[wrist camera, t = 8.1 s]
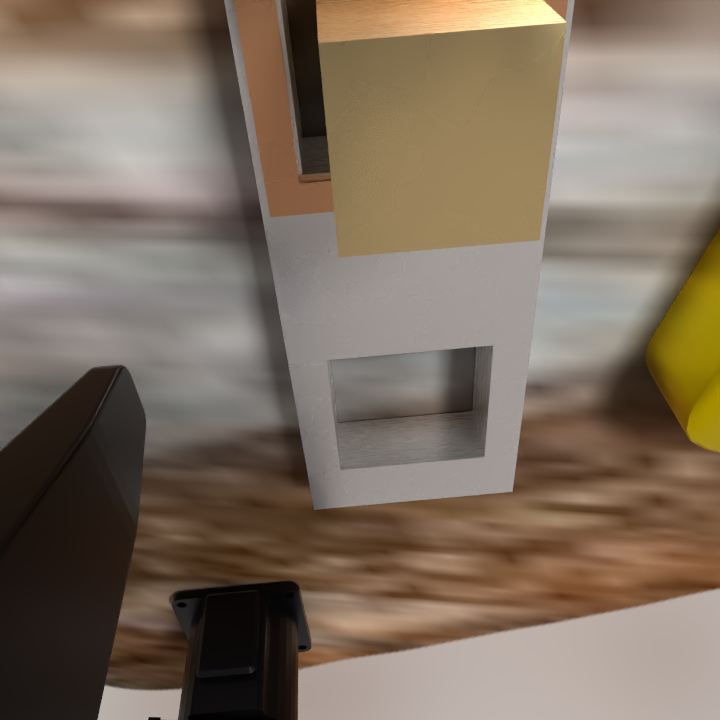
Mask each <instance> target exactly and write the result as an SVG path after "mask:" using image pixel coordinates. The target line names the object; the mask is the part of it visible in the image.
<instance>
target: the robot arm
mask: <svg viewBox="0 0 720 720" xmlns="http://www.w3.org/2000/svg"><path fill="white" fill-rule="evenodd" d="M145 432H146V418H145V412H144V409H143V406H142V403H141V401H140V398H139V395H138V393H137V390H136V387H135V385H134V382H133V379H132V377H131V374H130V372H129V371H128V369H127V368H126V367H125V366H123V365H111V366H100V367H94V368H92V369H90V370H89V371H88V372H87V373H86V374H84V375H83V376H82V377H81V378H80V379H79V380H78V381H77V382H76V383H74V384H73V385H72V386H71V387H70V388H69V389H68V390H67V391H66V392H65V393H63V394H62V395H61V396H60V397H59V398H58V399H57V400H56V401H55V402H54V403H52V404H51V405H50V406H49V407H48V408H47V409H46V410H45V411H44V412H43V413H41V414H40V415H39V416H38V417H37V418H36V419H35V420H34V421H33V422H31V423H30V424H29V425H28V426H27V427H26V428H25V429H24V430H23V431H22V432H20V433H19V434H18V435H17V436H16V437H15V438H14V439H13V440H12V441H11V442H9V443H8V444H7V445H6V446H5V447H4V448H3V449H2V450H1V451H0V720H97V719H98V714H99V709H100V704H101V700H102V694H103V690H104V686H105V681H106V676H107V671H108V667H109V662H110V657H111V652H112V648H113V643H114V638H115V633H116V629H117V624H118V619H119V614H120V610H121V605H122V600H123V595H124V591H125V586H126V581H127V576H128V572H129V567H130V562H131V557H132V553H133V548H134V542H135V537H136V531H137V524H138V515H139V503H140V492H141V480H142V468H143V456H144V444H145ZM172 607H173V609H174V611H175V613H176V615H177V618H178V620H179V622H180V624H181V626H182V628H183V630H184V633H185V635H186V637H187V639H188V641H189V642H188V650H187V657H186V665H185V672H184V680H183V687H182V694H181V702H180V710H179V717H178V720H298V652H305V651H308V650H310V649H311V637H310V633H309V628H308V624H307V619H306V615H305V610H304V606H303V602H302V597H301V593H300V588H299V586H298V585H297V584H295V583H281V584H270V585H259V586H248V587H237V588H226V589H215V590H204V591H193V592H182V593H177V594H175V595H174V596H173V600H172ZM148 720H160V718H158V717H149V719H148Z"/></svg>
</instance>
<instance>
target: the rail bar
mask: <svg viewBox="0 0 720 720" xmlns="http://www.w3.org/2000/svg"><path fill="white" fill-rule="evenodd" d="M543 1H544V2H545V3H546V4H547V5H548V6H550V7H551V8H552V9H553V10H554V11H555V12H556V13H557V14H558V15H559V16H561V17H562V18H563V19H564V20H565V21H566V22H567V27H566V35H565V43H564V51H563V59H562V67H561V74H560V82H559V90H558V98H557V106H556V114H555V122H554V130H553V138H552V146H551V154H550V162H549V170H548V178H547V185H546V193H545V201H544V209H543V217H542V225H541V233H540V240H538V241H526V242H514V243H503V244H491V245H479V246H468V247H456V248H444V249H433V250H421V251H409V252H397V253H386V254H374V255H362V256H351V257H338V246H337V236H336V225H335V215H334V204H333V194H332V183H331V172H330V162H329V151H328V141H327V135H325V136H314V137H303V136H302V127H301V119H300V111H299V103H298V95H297V87H296V79H295V71H294V63H293V54H292V46H291V38H290V30H289V22H288V14H287V6H286V0H224V3H225V8H226V14H227V20H228V25H229V31H230V37H231V42H232V48H233V54H234V59H235V65H236V71H237V76H238V82H239V88H240V93H241V99H242V105H243V110H244V116H245V122H246V127H247V133H248V139H249V144H250V150H251V156H252V161H253V167H254V173H255V178H256V184H257V190H258V195H259V201H260V207H261V212H262V218H263V224H264V229H265V235H266V240H267V246H268V252H269V257H270V263H271V269H272V274H273V280H274V286H275V291H276V297H277V303H278V308H279V314H280V320H281V325H282V331H283V337H284V342H285V348H286V354H287V359H288V365H289V371H290V376H291V382H292V388H293V393H294V399H295V405H296V410H297V416H298V422H299V427H300V433H301V439H302V444H303V450H304V456H305V461H306V467H307V473H308V478H309V484H310V490H311V495H312V501H313V507H314V510H316V509H327V508H338V507H349V506H360V505H371V504H382V503H393V502H404V501H415V500H426V499H437V498H448V497H459V496H470V495H481V494H492V493H503V492H512V491H513V484H514V476H515V468H516V460H517V452H518V444H519V436H520V428H521V420H522V412H523V404H524V396H525V388H526V381H527V373H528V365H529V357H530V349H531V341H532V333H533V325H534V317H535V309H536V301H537V293H538V285H539V277H540V270H541V262H542V254H543V246H544V238H545V230H546V222H547V214H548V206H549V198H550V190H551V182H552V174H553V166H554V159H555V151H556V143H557V135H558V127H559V119H560V111H561V103H562V95H563V87H564V79H565V71H566V63H567V55H568V48H569V40H570V32H571V24H572V16H573V8H574V0H543ZM469 347H476V354H475V371H474V389H473V406H472V411H466V412H455V413H444V414H433V415H421V416H410V417H399V418H388V419H377V420H366V421H355V422H344V423H338V420H337V411H336V403H335V395H334V387H333V379H332V371H331V363H330V360H336V359H347V358H358V357H369V356H381V355H392V354H403V353H414V352H425V351H436V350H447V349H458V348H469Z"/></svg>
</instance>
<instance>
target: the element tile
mask: <svg viewBox="0 0 720 720" xmlns="http://www.w3.org/2000/svg"><path fill="white" fill-rule="evenodd" d="M646 365H647V367H648V369H649V372H650V374H651V375H652V377H653V379H654V381H655V382H656V384H657V386H658V387H659V389H660V391H661V392H662V394H663V396H664V398H665V399H666V401H667V403H668V404H669V406H670V408H671V409H672V411H673V413H674V415H675V416H676V418H677V420H678V421H679V423H680V425H681V427H682V428H683V430H684V432H685V433H686V435H687V437H688V438H689V440H691V441H692V442H693V443H695V444H697V445H698V446H700V447H702V448H703V449H707V450H711V451H715V452H719V453H720V229H719V230H718V232H717V233H716V235H715V237H714V238H713V240H712V241H711V243H710V245H709V246H708V248H707V249H706V251H705V253H704V254H703V256H702V257H701V259H700V261H699V262H698V264H697V265H696V267H695V269H694V270H693V272H692V273H691V275H690V277H689V278H688V280H687V281H686V283H685V285H684V286H683V288H682V290H681V291H680V293H679V294H678V296H677V298H676V299H675V301H674V302H673V304H672V306H671V307H670V309H669V310H668V312H667V314H666V315H665V317H664V318H663V320H662V322H661V323H660V325H659V326H658V328H657V330H656V331H655V333H654V334H653V336H652V338H651V341H650V343H649V345H648V348H647V354H646Z"/></svg>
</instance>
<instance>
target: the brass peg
mask: <svg viewBox="0 0 720 720" xmlns="http://www.w3.org/2000/svg"><path fill="white" fill-rule="evenodd" d="M316 10H317V29H318V45H319V56H320V67H321V77H322V88H323V98H324V109H325V119H326V130H327V141H328V151H329V162H330V172H331V183H332V194H333V204H334V215H335V225H336V236H337V246H338V257H351V256H362V255H374V254H386V253H397V252H409V251H421V250H433V249H444V248H456V247H468V246H479V245H491V244H503V243H514V242H526V241H538V240H540V233H541V225H542V217H543V209H544V201H545V193H546V185H547V178H548V170H549V162H550V154H551V146H552V138H553V130H554V122H555V114H556V106H557V98H558V90H559V82H560V74H561V67H562V59H563V51H564V43H565V35H566V27H567V22H566V21H565V20H564V19H563V18H562V17H561V16H559V15H558V14H557V13H556V12H555V11H554V10H553V9H552V8H551V7H550V6H548V5H547V4H546V3H545V2H544V1H543V0H316Z"/></svg>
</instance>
